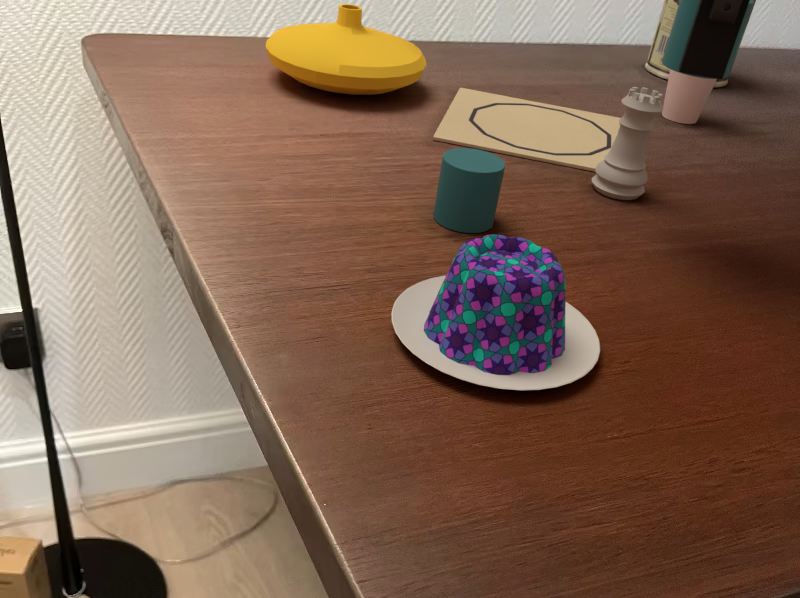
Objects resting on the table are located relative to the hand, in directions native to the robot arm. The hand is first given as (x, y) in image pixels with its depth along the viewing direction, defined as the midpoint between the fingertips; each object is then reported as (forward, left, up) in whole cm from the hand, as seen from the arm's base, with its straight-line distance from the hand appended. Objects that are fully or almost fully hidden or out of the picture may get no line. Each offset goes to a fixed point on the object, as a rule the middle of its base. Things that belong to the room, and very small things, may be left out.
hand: (696, 63), depth 53 cm
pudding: (+9, +19, -12) cm, 24 cm away
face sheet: (+9, -19, -12) cm, 24 cm away
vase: (+29, -22, -12) cm, 38 cm away
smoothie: (-5, -32, -12) cm, 35 cm away
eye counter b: (0, 0, 0) cm, 0 cm away
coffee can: (-7, -51, -12) cm, 53 cm away
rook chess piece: (+2, -8, -12) cm, 15 cm away
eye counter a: (+13, +4, -12) cm, 18 cm away
